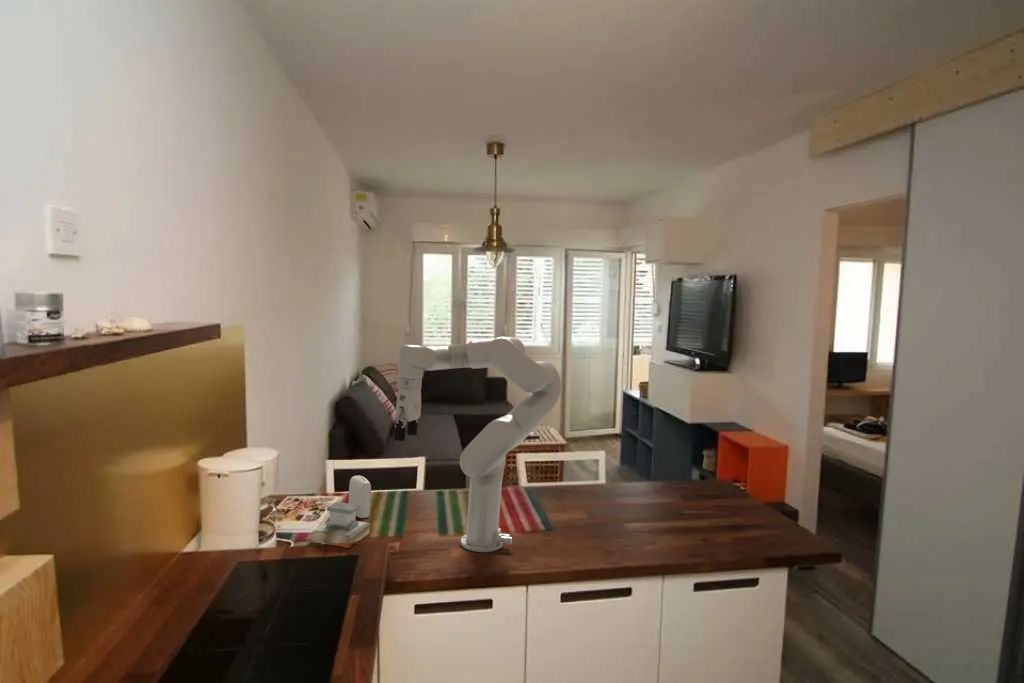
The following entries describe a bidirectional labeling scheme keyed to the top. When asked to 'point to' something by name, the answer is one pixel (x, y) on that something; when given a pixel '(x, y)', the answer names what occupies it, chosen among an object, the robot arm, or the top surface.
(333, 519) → the steel housing
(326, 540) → the pale green flat tray
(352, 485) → the photo printer
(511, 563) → the top surface
